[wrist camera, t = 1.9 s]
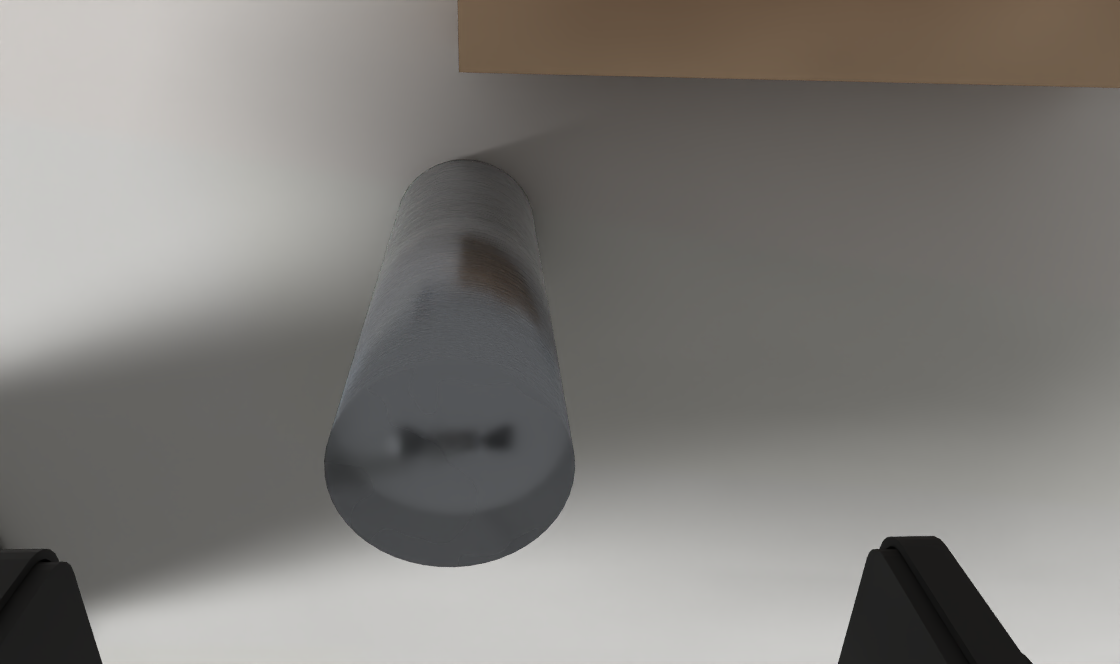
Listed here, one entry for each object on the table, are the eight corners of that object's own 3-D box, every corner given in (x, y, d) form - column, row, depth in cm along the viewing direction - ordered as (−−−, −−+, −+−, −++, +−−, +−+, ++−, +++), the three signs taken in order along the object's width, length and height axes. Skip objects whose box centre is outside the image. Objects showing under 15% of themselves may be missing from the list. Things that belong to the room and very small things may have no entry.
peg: (532, 289, 25) (569, 563, 14) (400, 289, 24) (335, 570, 14) (535, 160, 23) (580, 362, 12) (393, 158, 23) (311, 364, 12)
